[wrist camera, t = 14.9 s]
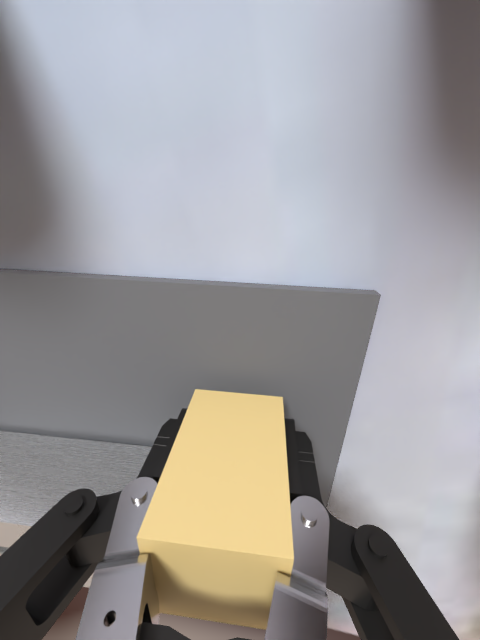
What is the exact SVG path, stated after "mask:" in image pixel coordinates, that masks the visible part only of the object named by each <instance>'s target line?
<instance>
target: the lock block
mask: <svg viewBox="0 0 480 640" xmlns="http://www.w3.org/2000/svg"><path fill="white" fill-rule="evenodd" d="M136 538H137V543H138V547H139V552H140V553H150V556H151V561H152V567H153V576H154V582H155V587H156V590H157V593H158V599H159V613H164V614H171V615H177V616H183V617H189V618H196V619H202V620H208V621H215V622H221V623H227V624H234V625H240V626H247V627H252V628H258V629H265V630H266V629H267V624H268V618H269V613H270V608H271V602H272V597H273V592H274V587H275V581H276V576H277V572H281V573H285V574H289V575H291V572H292V567H293V562H294V550H293V536H292V522H291V507H290V493H289V479H288V464H287V450H286V436H285V421H284V407H283V397H278V396H267V395H256V394H245V393H233V392H222V391H211V390H200V389H195V391H194V394H193V396H192V399H191V401H190V404H189V406H188V409H187V411H186V414H185V417H184V419H183V422H182V424H181V427H180V429H179V432H178V434H177V437H176V439H175V442H174V444H173V447H172V449H171V452H170V454H169V457H168V459H167V462H166V464H165V467H164V469H163V472H162V474H161V477H160V479H159V482H158V485H157V487H156V490H155V492H154V495H153V497H152V500H151V502H150V505H149V507H148V510H147V512H146V515H145V517H144V520H143V522H142V525H141V527H140V530H139V532H138V535H137V537H136Z"/></svg>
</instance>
